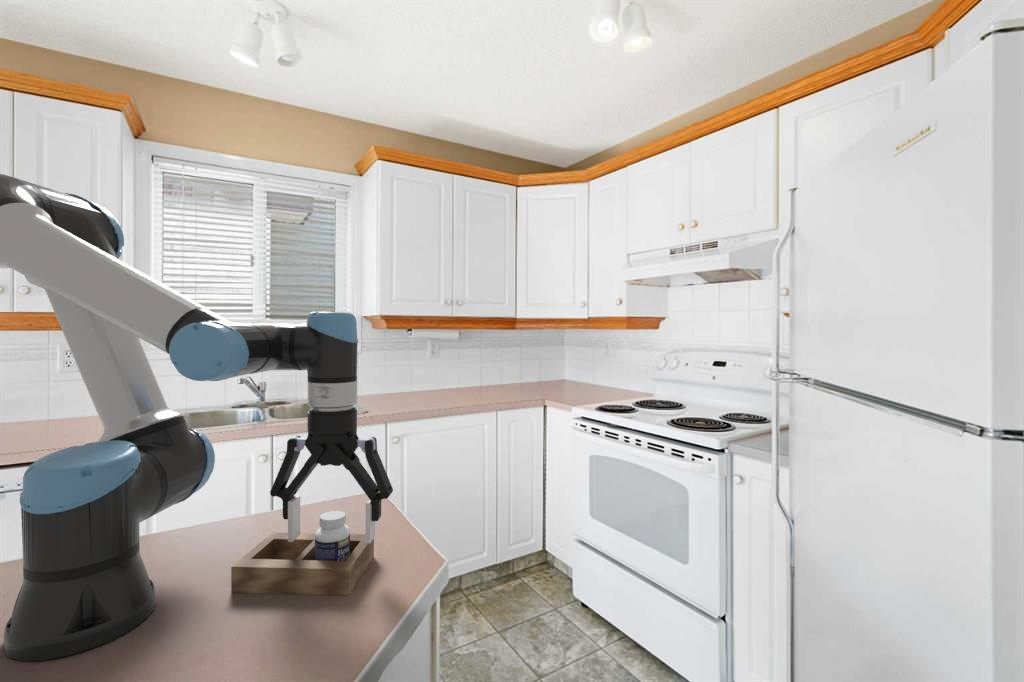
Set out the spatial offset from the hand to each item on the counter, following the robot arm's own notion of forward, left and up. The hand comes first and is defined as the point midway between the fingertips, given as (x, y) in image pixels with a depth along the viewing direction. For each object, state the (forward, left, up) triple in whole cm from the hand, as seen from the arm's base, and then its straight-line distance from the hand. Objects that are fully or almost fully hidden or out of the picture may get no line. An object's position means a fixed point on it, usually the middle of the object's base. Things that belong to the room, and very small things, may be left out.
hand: (332, 539), depth 78 cm
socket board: (-4, 0, -6) cm, 7 cm away
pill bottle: (0, 0, -6) cm, 6 cm away
